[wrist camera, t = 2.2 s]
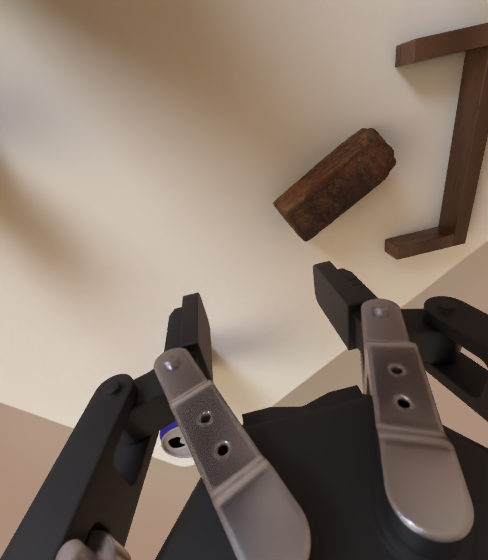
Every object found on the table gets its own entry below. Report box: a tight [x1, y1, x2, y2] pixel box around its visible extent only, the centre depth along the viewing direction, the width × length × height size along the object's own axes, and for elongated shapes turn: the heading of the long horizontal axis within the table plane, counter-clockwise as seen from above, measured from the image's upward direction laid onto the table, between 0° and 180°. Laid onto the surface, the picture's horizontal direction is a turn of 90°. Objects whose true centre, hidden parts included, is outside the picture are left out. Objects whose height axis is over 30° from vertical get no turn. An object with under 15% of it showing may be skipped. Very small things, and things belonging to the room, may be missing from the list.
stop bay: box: [385, 23, 488, 260], centre depth 28 cm, size 8×20×2 cm, turn 11°
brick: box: [273, 128, 396, 241], centre depth 27 cm, size 11×4×5 cm, turn 130°
